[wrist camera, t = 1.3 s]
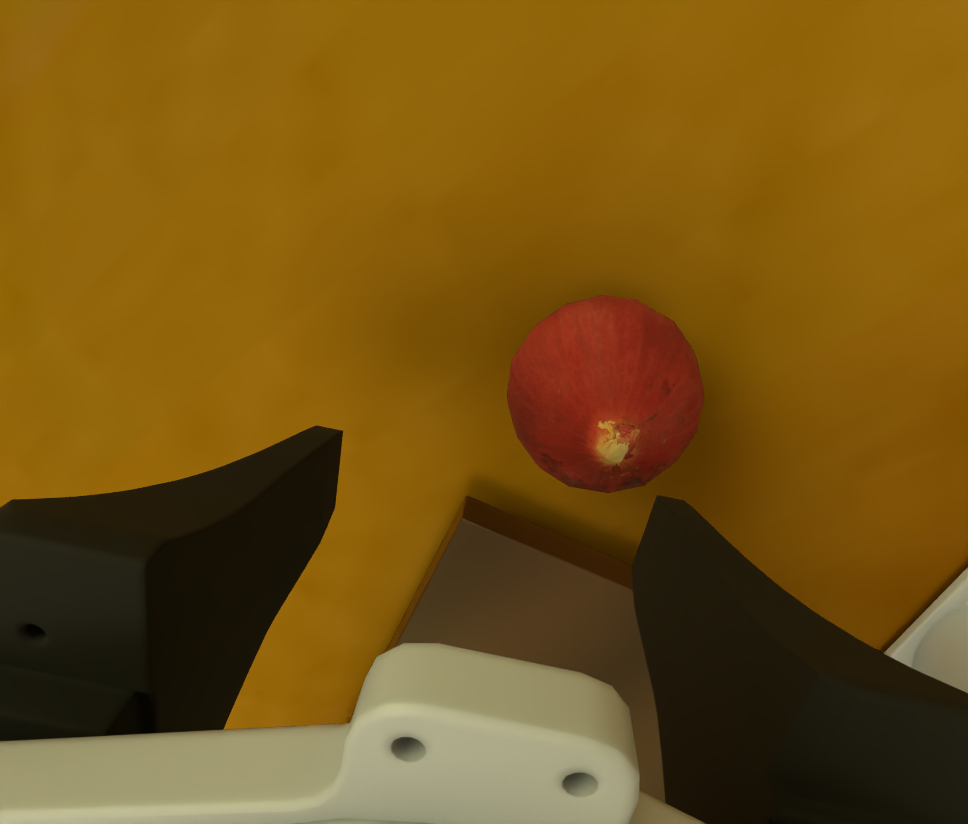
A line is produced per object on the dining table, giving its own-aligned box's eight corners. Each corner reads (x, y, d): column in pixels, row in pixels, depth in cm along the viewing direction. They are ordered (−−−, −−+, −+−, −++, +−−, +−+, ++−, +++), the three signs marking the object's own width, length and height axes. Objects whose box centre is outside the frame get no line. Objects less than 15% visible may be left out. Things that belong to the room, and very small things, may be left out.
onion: (687, 410, 23) (755, 536, 16) (534, 443, 24) (532, 575, 17) (660, 255, 21) (724, 317, 14) (494, 299, 22) (471, 378, 15)
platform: (796, 617, 26) (825, 672, 24) (574, 872, 34) (577, 935, 32) (470, 475, 25) (461, 517, 22) (317, 775, 33) (296, 833, 30)
